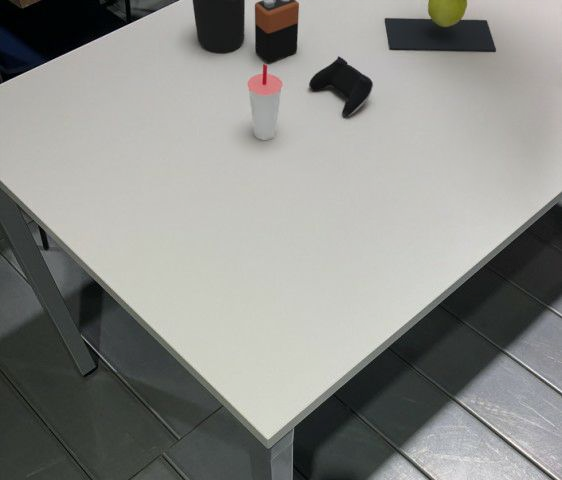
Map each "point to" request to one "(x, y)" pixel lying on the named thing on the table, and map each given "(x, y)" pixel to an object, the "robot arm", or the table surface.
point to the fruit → (446, 11)
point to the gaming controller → (344, 84)
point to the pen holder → (220, 24)
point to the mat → (438, 35)
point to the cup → (264, 103)
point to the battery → (276, 28)
